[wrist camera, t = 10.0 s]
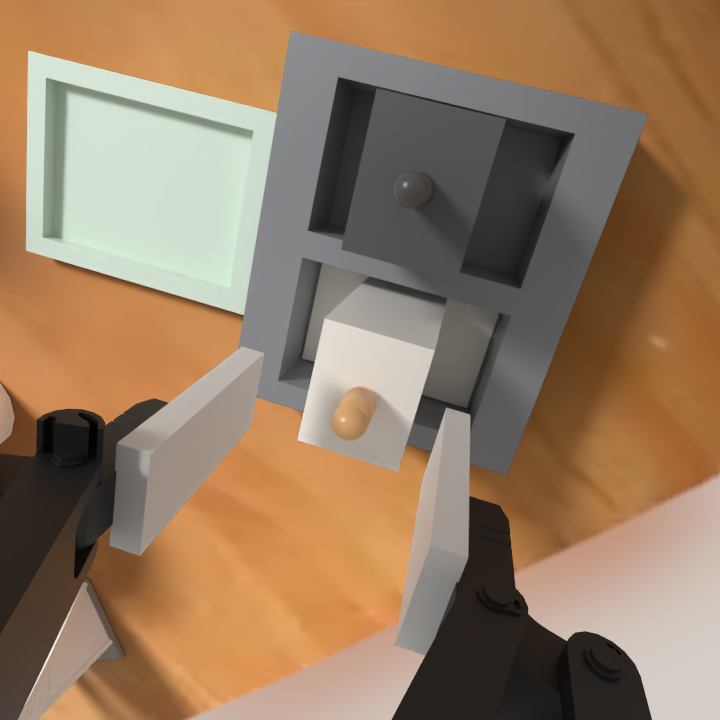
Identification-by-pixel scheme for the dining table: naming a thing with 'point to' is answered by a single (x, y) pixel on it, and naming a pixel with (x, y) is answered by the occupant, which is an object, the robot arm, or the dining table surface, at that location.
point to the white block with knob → (372, 371)
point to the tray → (144, 180)
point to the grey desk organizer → (431, 224)
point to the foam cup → (5, 415)
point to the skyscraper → (73, 652)
